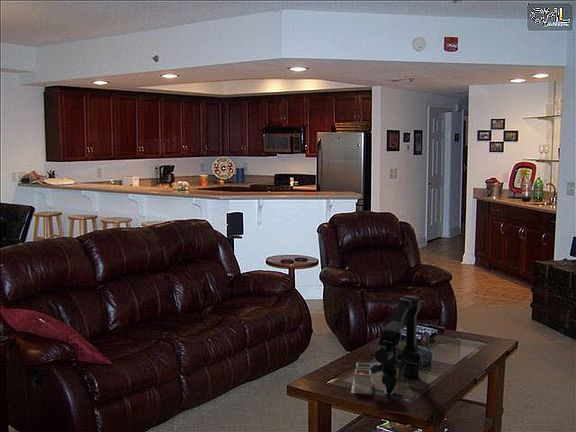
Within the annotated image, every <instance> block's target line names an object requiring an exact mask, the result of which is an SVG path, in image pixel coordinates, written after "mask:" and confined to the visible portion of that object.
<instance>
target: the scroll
mask: <svg viewBox="0 0 576 432" xmlns="http://www.w3.org/2000/svg"><path fill="white" fill-rule="evenodd" d="M393 316H394V314H393V315H390V317H388V318H387V317H386V318H385V320H384V326H385V327H386V325H387V324H389V323H391V321H392V319H393ZM383 341H384V340H383ZM384 342H387V341H384ZM380 347H382V345H379V346H377V347H376V350H375V351H376V352H377V351H378V350H380ZM403 348H404V347H402V346H400V345H399V346H398V350H397V357H400V356H401V355H402V350H403Z"/></svg>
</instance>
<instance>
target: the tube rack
mask: <svg viewBox="0 0 576 432" xmlns="http://www.w3.org/2000/svg"><path fill="white" fill-rule="evenodd" d="M355 364H356V365H355V371H354V377H353V382H352V384H351V385H352V386H351V392H350V393H351V394H361V395H373V387H374V379H372V372H371V369H370V364H371V363H368V362H356V363H355ZM358 373H363V374H358Z"/></svg>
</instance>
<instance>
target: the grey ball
mask: <svg viewBox="0 0 576 432" xmlns="http://www.w3.org/2000/svg"><path fill="white" fill-rule="evenodd" d="M383 393H384V394H385V395H386V396H387V391H386V387H385V388H384V390H383ZM393 394H394V390H393V391H392V393H391V395H390V396H392V395H393Z"/></svg>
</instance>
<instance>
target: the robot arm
mask: <svg viewBox="0 0 576 432" xmlns="http://www.w3.org/2000/svg"><path fill="white" fill-rule="evenodd" d="M422 302H423V301H422V299H421V298H420V297H419V296H414V295H407V294H406V295H404V296H403V297H399V299H398V305H397V307H396V310H395V312H394V314H393V315H394V316H393V315H392V316H393V319H392V321H391V323H389V324H387V325H386V326H385V327H384V328H383V330H382V331H381V335H380V338H379V341H378V345H379V346H381V345H382V347H380V350H378V351H376V352H375V354H374V358H375V360H376V362H372V363H370V369H371V375H373V374H376V373H380V372H382V373H381V374H382V375H381V383H382V384H383V385H384V387H385V388H386V391H387V395H386V396H387V397H391V396H392V395H391V393H392V391H393V392H394V390H395V387H396V386H397V383H398V376H397V371H398V356H397V350H398V346H400V343H401V340H402V331H401V329H402V326H403V324H404V321H405V319H406V321H405V325H406V326H405V328H406V329H405V346H404V347H402V348H403V350H402V355H401V357H400V358H401V364H403V376H404V377H407V379H409V380H410V379H411V380H420V377H419V372H420V367H423V363H424V360H423V356H422V354H421V348H420V347H419V345H418V343H417V329H418V328H417V327H418V326H417V321H418V319H417V317H418V313H419V312H420V310H421V307H422ZM383 340H384V341H387V342H384V341H383Z"/></svg>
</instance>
